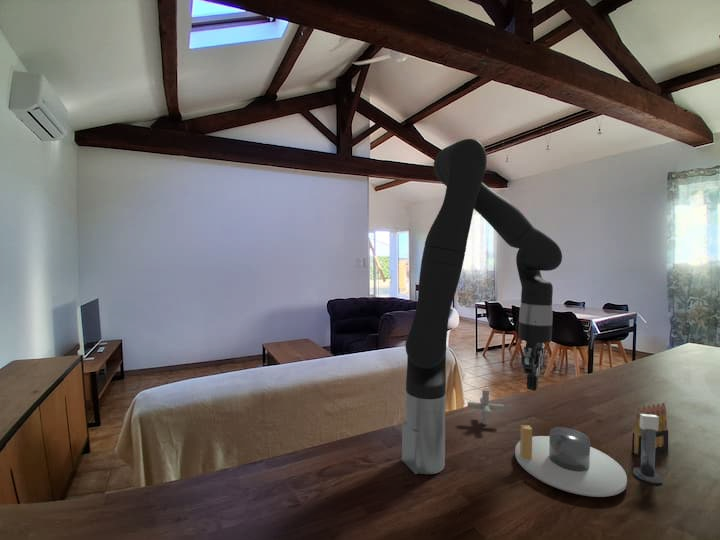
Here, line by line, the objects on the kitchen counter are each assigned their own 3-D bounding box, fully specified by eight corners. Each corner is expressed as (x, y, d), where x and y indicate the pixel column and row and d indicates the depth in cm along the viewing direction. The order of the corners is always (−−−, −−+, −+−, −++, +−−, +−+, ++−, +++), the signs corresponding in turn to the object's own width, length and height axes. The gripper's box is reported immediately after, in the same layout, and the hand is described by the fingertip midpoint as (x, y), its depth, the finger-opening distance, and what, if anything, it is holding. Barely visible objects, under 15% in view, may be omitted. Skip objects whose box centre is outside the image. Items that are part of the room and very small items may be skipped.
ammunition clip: (639, 456, 86) (640, 408, 86) (631, 452, 88) (632, 405, 87) (668, 449, 89) (670, 403, 89) (660, 445, 91) (661, 400, 91)
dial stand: (653, 471, 80) (655, 411, 79) (667, 485, 75) (669, 421, 75) (628, 469, 81) (630, 409, 80) (641, 482, 76) (643, 419, 76)
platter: (651, 502, 68) (653, 462, 68) (531, 489, 72) (532, 451, 71) (595, 443, 90) (596, 413, 89) (505, 436, 93) (505, 406, 93)
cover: (596, 473, 76) (597, 446, 75) (556, 469, 77) (557, 442, 77) (580, 453, 83) (580, 428, 83) (544, 449, 85) (544, 425, 85)
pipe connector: (506, 433, 97) (507, 398, 97) (469, 429, 99) (470, 395, 99) (499, 417, 107) (500, 385, 107) (466, 414, 109) (466, 382, 109)
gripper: (545, 327, 80) (541, 401, 81) (558, 320, 90) (554, 386, 91) (511, 322, 85) (508, 392, 86) (527, 316, 95) (524, 378, 96)
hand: (532, 389), depth 88 cm, fingers closed
